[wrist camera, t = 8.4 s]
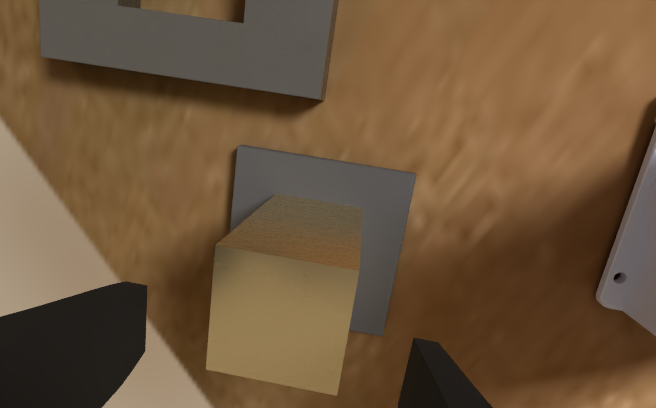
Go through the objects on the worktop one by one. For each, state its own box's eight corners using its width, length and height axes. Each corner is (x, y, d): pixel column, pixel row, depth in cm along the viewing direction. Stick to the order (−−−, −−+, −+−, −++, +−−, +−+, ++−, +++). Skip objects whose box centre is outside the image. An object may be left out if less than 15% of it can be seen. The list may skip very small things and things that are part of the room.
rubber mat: (381, 329, 19) (382, 336, 18) (227, 299, 19) (223, 305, 19) (414, 172, 17) (416, 175, 16) (241, 144, 17) (237, 145, 17)
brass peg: (348, 288, 18) (337, 395, 11) (266, 273, 18) (206, 369, 11) (363, 208, 17) (359, 270, 10) (275, 193, 17) (214, 245, 10)
